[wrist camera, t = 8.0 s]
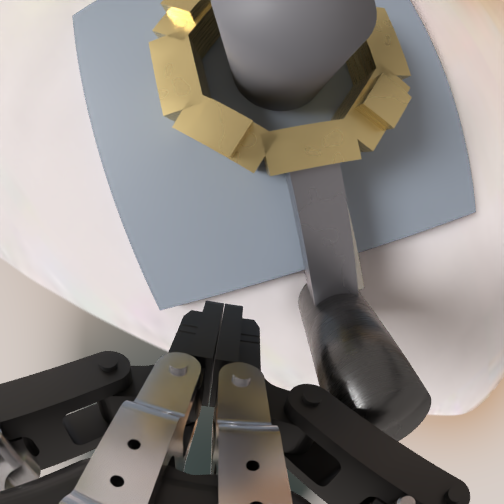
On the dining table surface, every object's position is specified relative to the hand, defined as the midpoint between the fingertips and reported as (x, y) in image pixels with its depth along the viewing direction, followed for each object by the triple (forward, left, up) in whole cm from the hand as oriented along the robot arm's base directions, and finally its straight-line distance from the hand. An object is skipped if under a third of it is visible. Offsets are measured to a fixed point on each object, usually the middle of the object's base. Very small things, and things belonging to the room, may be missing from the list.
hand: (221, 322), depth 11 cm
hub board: (-6, -9, -5) cm, 11 cm away
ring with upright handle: (-5, -5, -3) cm, 8 cm away
